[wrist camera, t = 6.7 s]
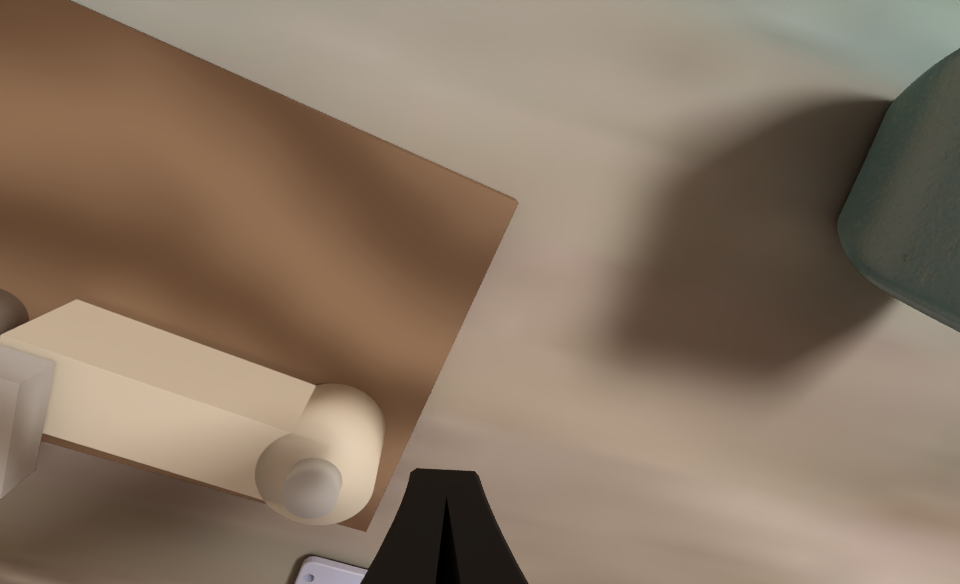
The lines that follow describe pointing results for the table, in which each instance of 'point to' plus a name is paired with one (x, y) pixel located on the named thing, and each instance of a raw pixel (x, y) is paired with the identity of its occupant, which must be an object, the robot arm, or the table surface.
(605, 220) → the table surface
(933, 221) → the flower pot
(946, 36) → the table surface
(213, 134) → the hinge board
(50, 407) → the link
